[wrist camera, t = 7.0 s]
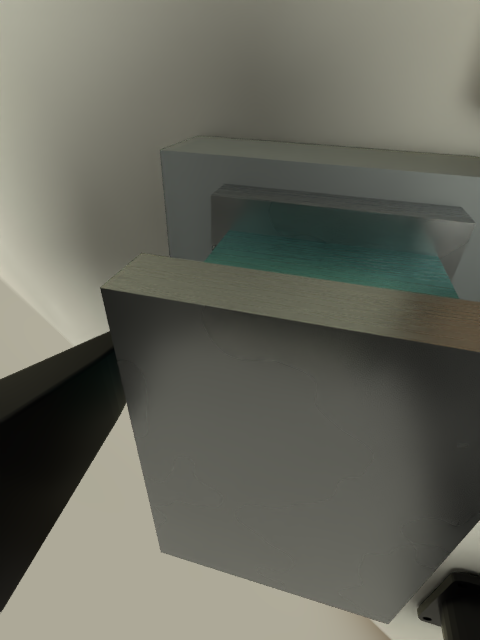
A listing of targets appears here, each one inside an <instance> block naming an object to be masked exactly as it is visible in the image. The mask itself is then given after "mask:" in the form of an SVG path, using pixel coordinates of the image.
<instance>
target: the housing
mask: <svg viewBox="0 0 480 640" xmlns="http://www.w3.org/2000/svg"><path fill="white" fill-rule="evenodd" d="M475 225H476V223H475V221H474V220H473V219H472V218H471V217H470V216H469V215H468V213H467V212H466V211H465V210H464V209H463V208H462V207H456V206H445V205H435V204H425V203H415V202H405V201H395V200H385V199H375V198H365V197H355V196H345V195H335V194H325V193H315V192H305V191H295V190H284V189H274V188H264V187H254V186H244V185H234V184H224V185H222V186H221V187H220V188H219V189H218V190H216V191H215V192H214V193H213V194H212V195H211V236H212V252H211V254H210V255H209V256H208V257H207V259H206V260H205V261H204V262H200V261H193V260H186V259H179V258H172V257H165V256H158V255H152V254H145V253H141V254H140V255H139V256H138V257H136V258H135V259H134V260H133V261H132V262H130V263H129V264H128V265H127V266H126V267H124V268H123V269H122V270H121V271H120V272H118V273H117V274H116V275H115V276H114V277H112V278H111V279H110V280H109V281H108V282H106V283H105V284H104V285H103V286H102V287H101V288H100V289H101V293H102V298H103V302H104V306H105V311H106V315H107V319H108V324H109V328H110V332H111V337H112V341H113V345H114V350H115V354H116V358H117V363H118V367H119V372H120V376H121V380H122V385H123V389H124V393H125V398H126V402H127V406H128V411H129V415H130V419H131V424H132V428H133V432H134V437H135V441H136V445H137V450H138V454H139V459H140V463H141V467H142V472H143V476H144V480H145V485H146V489H147V493H148V497H149V502H150V506H151V510H152V515H153V519H154V524H155V528H156V533H157V536H158V541H159V546H160V550H161V552H163V553H166V554H169V555H172V556H175V557H179V558H181V559H185V560H188V561H191V562H194V563H197V564H200V565H203V566H206V567H210V568H213V569H216V570H219V571H222V572H225V573H229V574H232V575H235V576H238V577H241V578H244V579H248V580H250V581H254V582H257V583H260V584H263V585H266V586H269V587H272V588H276V589H279V590H282V591H285V592H288V593H292V594H295V595H298V596H301V597H304V598H307V599H310V600H314V601H317V602H320V603H323V604H326V605H329V606H332V607H335V608H339V609H342V610H345V611H348V612H351V613H355V614H357V615H361V616H364V617H367V618H370V619H373V620H376V621H379V622H383V623H386V624H389V623H390V622H391V620H392V619H393V618H394V617H395V616H396V615H397V614H398V613H399V611H400V610H401V609H402V608H403V607H404V606H405V605H406V603H407V602H408V601H409V600H410V599H411V598H412V597H413V595H414V594H415V593H416V592H417V591H418V590H419V589H420V587H421V586H422V585H423V584H424V583H425V582H426V581H427V579H428V578H429V577H430V576H431V575H432V574H433V573H434V572H435V570H436V569H437V568H438V567H439V566H440V565H441V564H442V562H443V561H444V560H445V559H446V558H447V557H448V556H449V554H450V553H451V552H452V551H453V550H454V549H455V548H456V546H457V545H458V544H459V543H460V542H461V541H462V540H463V538H464V537H465V536H466V535H467V534H468V533H469V532H470V531H471V529H472V528H473V527H474V526H475V525H476V524H477V523H478V521H479V520H480V302H475V301H468V300H461V299H459V297H458V295H457V293H456V291H455V289H454V287H453V285H452V283H451V281H452V279H453V276H454V274H455V272H456V269H457V267H458V265H459V262H460V260H461V258H462V255H463V253H464V251H465V248H466V246H467V244H468V241H469V239H470V237H471V235H472V232H473V230H474V228H475Z"/></svg>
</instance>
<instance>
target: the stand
mask: <svg viewBox="0 0 480 640" xmlns="http://www.w3.org/2000/svg"><path fill="white" fill-rule="evenodd" d="M160 155H161V166H162V177H163V188H164V199H165V210H166V221H167V232H168V243H169V254H170V257H172V258H179V259H186V260H193V261H200V262H204V261H205V260H206V259H207V257H208V256H209V255H210V254H211V252H212V236H211V195H212V194H213V193H214V192H215V191H216V190H218V189H219V188H220V187H221V186H222V185H224V184H234V185H244V186H254V187H264V188H274V189H284V190H295V191H305V192H315V193H325V194H335V195H345V196H355V197H365V198H375V199H385V200H395V201H405V202H415V203H425V204H435V205H445V206H456V207H462V208H463V209H464V210H465V211H466V212H467V213H468V215H469V216H470V217H471V218H472V219H473V220H474V221H475V223H476V225H475V228H474V230H473V232H472V235H471V237H470V239H469V241H468V244H467V246H466V248H465V251H464V253H463V255H462V258H461V260H460V262H459V265H458V267H457V269H456V272H455V274H454V276H453V279H452V281H451V283H452V285H453V287H454V289H455V291H456V293H457V295H458V297H459V299H461V300H468V301H475V302H480V157H474V156H461V155H447V154H434V153H421V152H408V151H394V150H381V149H368V148H355V147H341V146H328V145H315V144H302V143H288V142H275V141H262V140H248V139H235V138H222V137H209V136H196V137H193V138H191V139H188V140H185V141H183V142H180V143H177V144H175V145H172V146H169V147H167V148H164V149H161V150H160Z"/></svg>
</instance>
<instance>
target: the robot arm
mask: <svg viewBox="0 0 480 640" xmlns="http://www.w3.org/2000/svg"><path fill="white" fill-rule="evenodd" d="M125 404H126V398H125V393H124V389H123V385H122V380H121V376H120V372H119V367H118V363H117V358H116V354H115V350H114V345H113V341H112V337H111V332H110V331H109V332H107V333H104V334H102V335H100V336H97V337H95V338H93V339H91V340H88V341H86V342H84V343H82V344H79V345H77V346H75V347H73V348H70V349H68V350H66V351H64V352H61V353H59V354H57V355H54V356H52V357H50V358H48V359H45V360H43V361H41V362H39V363H36V364H34V365H32V366H29V367H27V368H25V369H23V370H20V371H18V372H16V373H14V374H12V375H9V376H7V377H4V378H2V379H0V612H1V611H2V610H3V609H4V607H5V605H6V604H7V602H8V600H9V599H10V597H11V595H12V594H13V592H14V590H15V589H16V587H17V585H18V584H19V582H20V580H21V579H22V577H23V576H24V574H25V572H26V571H27V569H28V567H29V566H30V564H31V562H32V560H33V559H34V557H35V556H36V554H37V552H38V551H39V549H40V547H41V545H42V544H43V542H44V541H45V539H46V537H47V536H48V534H49V532H50V531H51V529H52V527H53V526H54V524H55V522H56V521H57V519H58V517H59V516H60V514H61V513H62V511H63V509H64V508H65V506H66V504H67V503H68V501H69V499H70V497H71V496H72V494H73V493H74V491H75V489H76V488H77V486H78V484H79V483H80V481H81V479H82V478H83V476H84V474H85V473H86V471H87V469H88V468H89V466H90V464H91V463H92V461H93V460H94V458H95V456H96V455H97V453H98V451H99V450H100V448H101V446H102V445H103V443H104V441H105V440H106V438H107V436H108V435H109V433H110V431H111V429H112V428H113V426H114V425H115V423H116V421H117V420H118V417H119V416H120V414H121V412H122V410H123V408H124V406H125ZM417 612H418V618H419V619H420V620H422V621H425V622H428V623H431V624H434V625H437V626H441V627H442V632H443V638H444V640H480V577H477V576H473V575H469V574H466V573H461V572H454V573H452V574H450V575H449V576H448V577H447V578H446V579H445V580H444V581H443V583H442V584H441V585H440V586H439V587H438V588H437V589H436V590H435V591H434V592H433V593H432V594H431V595H430V596H429V597H428V598H427V599H426V600H425V601H424V602H423V603H422V604H421V605H420V606H419V608H418V609H417Z"/></svg>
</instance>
